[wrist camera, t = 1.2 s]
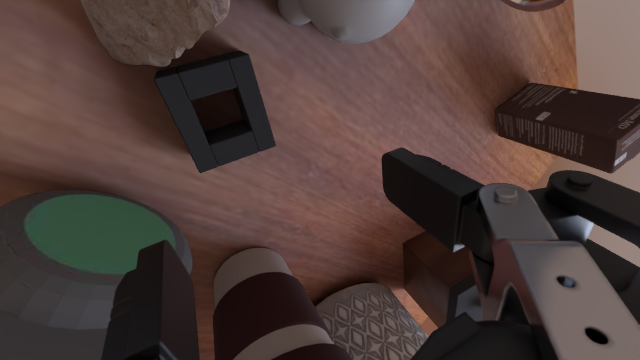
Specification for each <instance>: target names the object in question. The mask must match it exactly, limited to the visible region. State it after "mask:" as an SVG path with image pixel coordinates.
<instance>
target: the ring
mask: <svg viewBox="0 0 640 360" xmlns="http://www.w3.org/2000/svg"><path fill="white" fill-rule="evenodd" d="M501 1H502V2H504V3H505V4H507V5H508V6H510V7H513V8H515V9H518V10H521V11H527V12H538V11H544V10H548V9H551V8H554V7H557V6H559V5H560V4H562V3H563V2H565V0H501Z"/></svg>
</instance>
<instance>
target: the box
mask: <svg viewBox="0 0 640 360" xmlns="http://www.w3.org/2000/svg"><path fill="white" fill-rule="evenodd" d="M496 124H497V132H498V136H500V137H504V138H506V139H509V140H512V141H516V142H519V143H521V144H524V145H527V146H530V147H533V148H536V149H539V150H542V151H545V152H548V153H551V154H554V155H557V156H560V157H563V158H566V159H569V160H572V161H575V162H578V163H581V164H584V165H587V166H590V167H593V168H596V169H599V170H602V171H604V172H607V173H614V172H615V171H616V170H617V169H619V168H620V167H621V166H622V165H624V164H625V163H626V162H627V161H629V160H631V159H632V158H634V157H635V156H636V155H637V154H638V153H639V152H640V99H634V98H628V97H620V96H615V95H608V94H602V93H595V92H588V91H583V90H576V89H570V88H563V87H557V86H550V85H544V84H537V83H531V84H530V85H528V86H527V87H526V88H524V89H523V90H522V91H521V92H519V93H518V94H517V95H515V96H514V97H513V98H511V99H510V100H509V101H507V102H506V103H505V104H503V105H502V106H500V107H499V108H497V109H496Z"/></svg>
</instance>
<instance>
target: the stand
mask: <svg viewBox="0 0 640 360" xmlns="http://www.w3.org/2000/svg"><path fill="white" fill-rule="evenodd" d="M403 251H404V285H405V290H406V291H407V292H408V294H409V295H410V296H411V297H412V298H413V299H414V300H415V302H416V303H417V304H418V305H419V306H420V307H421V308H422V310H423V311H424V312H425V313H426V314H427V315H428V316H429V318H430V319H431V320H432V321H433V322H434V323H435V324H436V326H437V327H438V328H440V327H441V326H443V325H444V324H446V318H447V309H448V300H449V291H450V287H452V286H454V285H455V284H457V283H459V282H460V281H462V280H464V279H465V278H467V277H469V276H470V275H472V274H473V271H472V267H471V264H470V260H469V249H468V248H467V247H466V246H465V247H463V248H461V249H459V250H457V251H455V252H454V253H453V252H452V251H450V250H449V249H448V248H447V247H446V246H444V245H443V244H442V243H441V242H439V241H438V240H437V239H436V238H434V237H433V236H432V235H431V234H430V233H428V232H427V231H426V232H424V233H422V234H420V235H418V236H416V237H415V238H413V239H411V240H409V241H407V242H405V243H403Z"/></svg>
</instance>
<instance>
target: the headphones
mask: <svg viewBox="0 0 640 360" xmlns="http://www.w3.org/2000/svg"><path fill="white" fill-rule="evenodd" d="M165 239H166V240H168V241H169V242H170V244H171V245H172V247H173V249H174V250H175V252H176V253H177V255H178V257H179V258H180V260H181V261H182V263H183V265H184V266H185V268H186V269H187V271H188V273H189V275H190V274H191V271H192V260H193V259H192V255H191V251H190V247H189V243H188V241H187V239H186V238H185V236H184V234H183V233H182V232H181V231H180V229H179V228H178V227H177V226H176V225H175V224H174V223H173V222H171V221H170V220H169V219H168V218H166V217H165V216H164V215H162V214H161V213H159V212H158V211H156V210H154V209H152V208H150V207H149V206H147V205H144V204H142V203H140V202H137V201H135V200H132V199H129V198H126V197H122V196H118V195H114V194H110V193H104V192H97V191H86V190H55V191H47V192H40V193H34V194H31V195H27V196H24V197H20V198H18V199H16V200H13V201H11V202H9V203H7V204H5V205H3V206H1V207H0V360H101V357H102V352H103V347H104V343H105V338H106V333H107V328H108V324H109V321H111V319H110V314H111V309H112V307H113V300H114V295H115V290H116V288H117V286H118V285H119V283H120V282H121V280H122V278H123V277H124V275H125V274H126V272H129V271H131V270H134V269H136V266H137V259H138V252H139V250H140V249H142V248H145V247H147V246H150V245H152V244H155V243H157V242H160V241H162V240H165Z"/></svg>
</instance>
